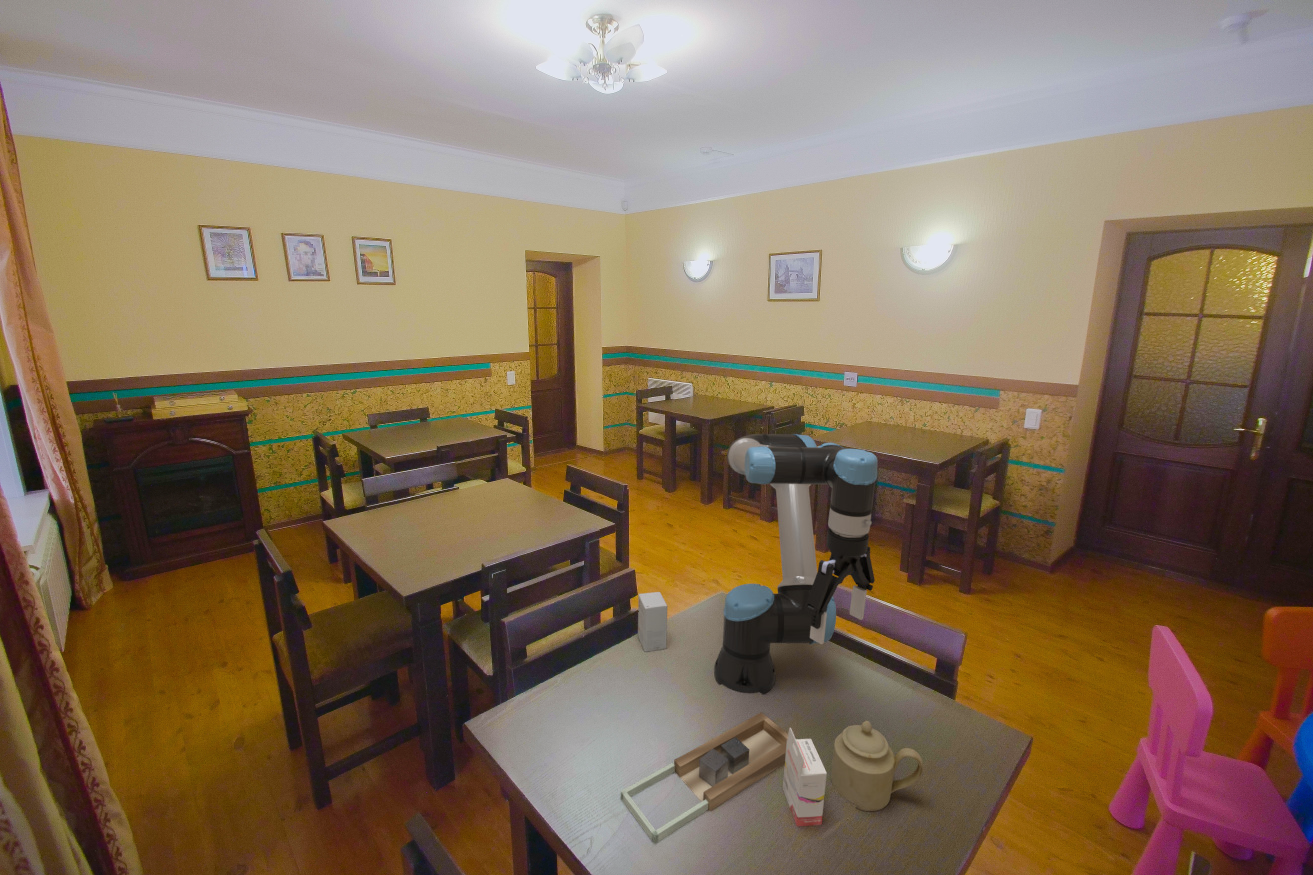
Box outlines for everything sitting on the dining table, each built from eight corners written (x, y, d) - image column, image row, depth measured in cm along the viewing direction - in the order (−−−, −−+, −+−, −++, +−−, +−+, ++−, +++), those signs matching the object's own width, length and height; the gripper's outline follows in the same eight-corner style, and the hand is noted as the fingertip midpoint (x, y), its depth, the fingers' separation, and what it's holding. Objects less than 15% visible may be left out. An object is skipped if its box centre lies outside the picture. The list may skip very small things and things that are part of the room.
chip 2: (719, 762, 113) (720, 745, 112) (734, 753, 115) (735, 736, 114) (733, 775, 110) (734, 758, 109) (748, 766, 112) (749, 749, 111)
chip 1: (698, 776, 109) (699, 759, 108) (711, 765, 112) (712, 748, 111) (714, 788, 107) (715, 771, 106) (727, 776, 109) (728, 759, 108)
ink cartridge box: (823, 829, 100) (830, 759, 97) (795, 830, 99) (802, 761, 96) (806, 789, 108) (812, 723, 105) (781, 790, 108) (786, 724, 104)
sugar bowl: (890, 760, 115) (898, 697, 112) (921, 807, 105) (931, 738, 101) (821, 767, 114) (827, 702, 110) (845, 814, 103) (853, 745, 99)
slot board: (673, 774, 111) (674, 759, 110) (760, 725, 124) (761, 712, 124) (709, 815, 102) (710, 799, 101) (798, 757, 116) (799, 743, 115)
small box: (666, 649, 152) (668, 605, 149) (644, 652, 150) (644, 608, 147) (659, 632, 159) (660, 590, 156) (637, 635, 158) (637, 593, 155)
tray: (620, 802, 105) (620, 791, 104) (672, 773, 111) (672, 762, 111) (654, 848, 96) (654, 836, 95) (708, 813, 103) (708, 802, 102)
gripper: (826, 555, 97) (815, 661, 102) (900, 521, 112) (887, 615, 117) (791, 540, 102) (782, 641, 108) (866, 509, 117) (855, 599, 123)
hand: (837, 628), depth 112 cm, fingers open, 13 cm apart
